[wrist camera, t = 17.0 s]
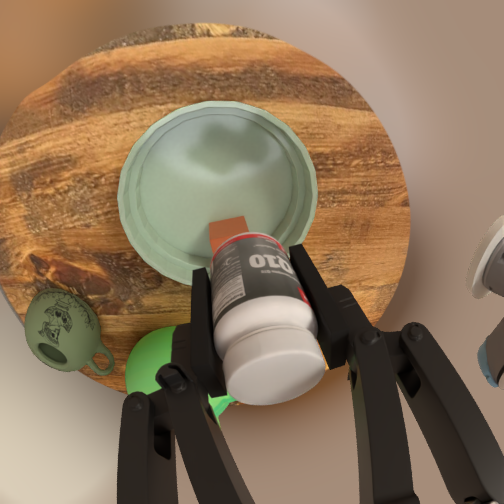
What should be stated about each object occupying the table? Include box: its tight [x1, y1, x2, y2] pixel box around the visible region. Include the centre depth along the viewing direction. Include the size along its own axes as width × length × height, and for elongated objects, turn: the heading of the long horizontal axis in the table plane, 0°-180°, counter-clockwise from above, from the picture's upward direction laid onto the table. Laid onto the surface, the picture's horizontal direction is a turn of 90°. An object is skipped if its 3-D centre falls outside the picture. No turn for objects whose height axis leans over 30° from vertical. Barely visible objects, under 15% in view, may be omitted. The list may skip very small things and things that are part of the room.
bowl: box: [117, 101, 318, 286], centre depth 27 cm, size 19×19×5 cm
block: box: [209, 216, 249, 255], centre depth 30 cm, size 4×4×4 cm
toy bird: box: [125, 326, 237, 429], centre depth 35 cm, size 18×17×15 cm
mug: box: [24, 288, 115, 376], centre depth 32 cm, size 16×13×9 cm
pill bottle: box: [210, 232, 325, 405], centre depth 13 cm, size 5×5×8 cm
